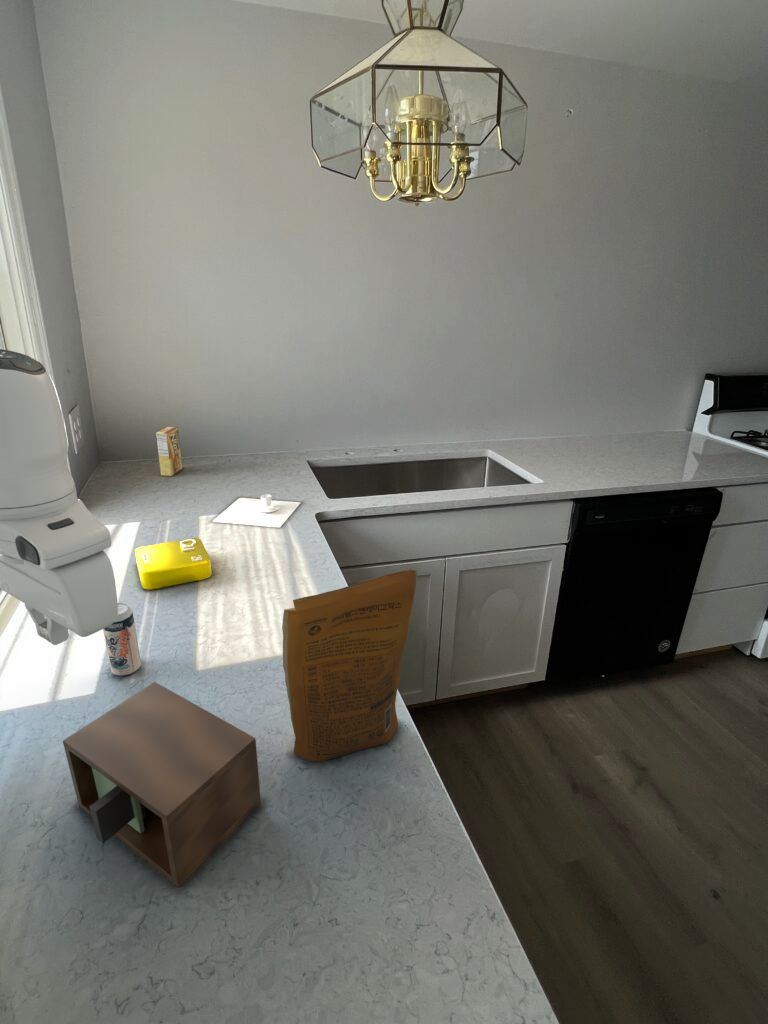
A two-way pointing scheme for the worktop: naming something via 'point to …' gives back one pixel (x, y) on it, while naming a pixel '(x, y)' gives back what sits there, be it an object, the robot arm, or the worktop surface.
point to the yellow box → (172, 563)
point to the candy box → (169, 451)
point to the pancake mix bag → (346, 664)
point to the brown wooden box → (169, 776)
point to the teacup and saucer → (258, 512)
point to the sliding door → (113, 809)
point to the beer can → (122, 642)
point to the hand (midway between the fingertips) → (53, 638)
